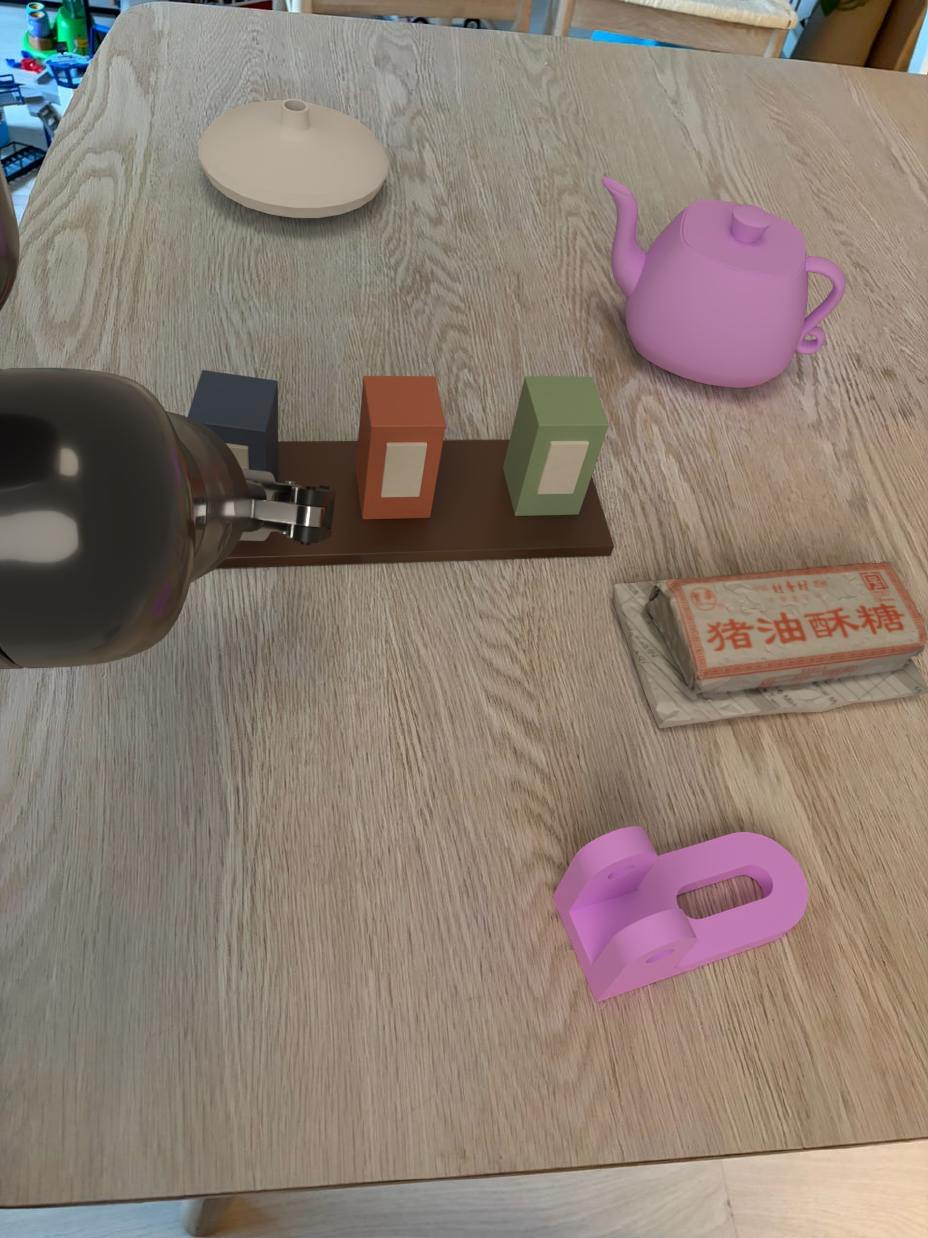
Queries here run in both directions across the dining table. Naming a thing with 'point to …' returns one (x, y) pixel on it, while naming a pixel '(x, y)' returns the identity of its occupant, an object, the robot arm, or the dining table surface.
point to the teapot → (719, 291)
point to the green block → (554, 445)
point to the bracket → (670, 905)
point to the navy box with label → (241, 416)
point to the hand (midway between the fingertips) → (208, 493)
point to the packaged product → (772, 641)
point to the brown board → (457, 529)
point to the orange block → (399, 446)
